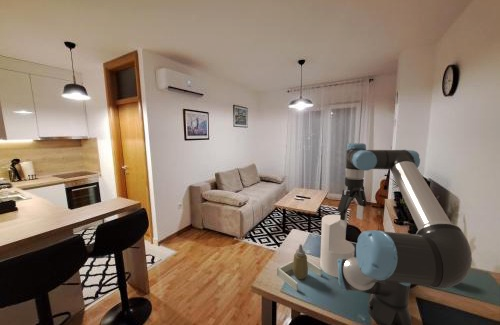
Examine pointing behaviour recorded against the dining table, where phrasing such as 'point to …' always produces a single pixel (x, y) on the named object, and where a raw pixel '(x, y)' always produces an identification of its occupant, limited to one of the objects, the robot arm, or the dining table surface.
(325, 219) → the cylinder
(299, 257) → the squeeze bottle
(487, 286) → the dining table surface
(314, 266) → the cream u-shaped frame
